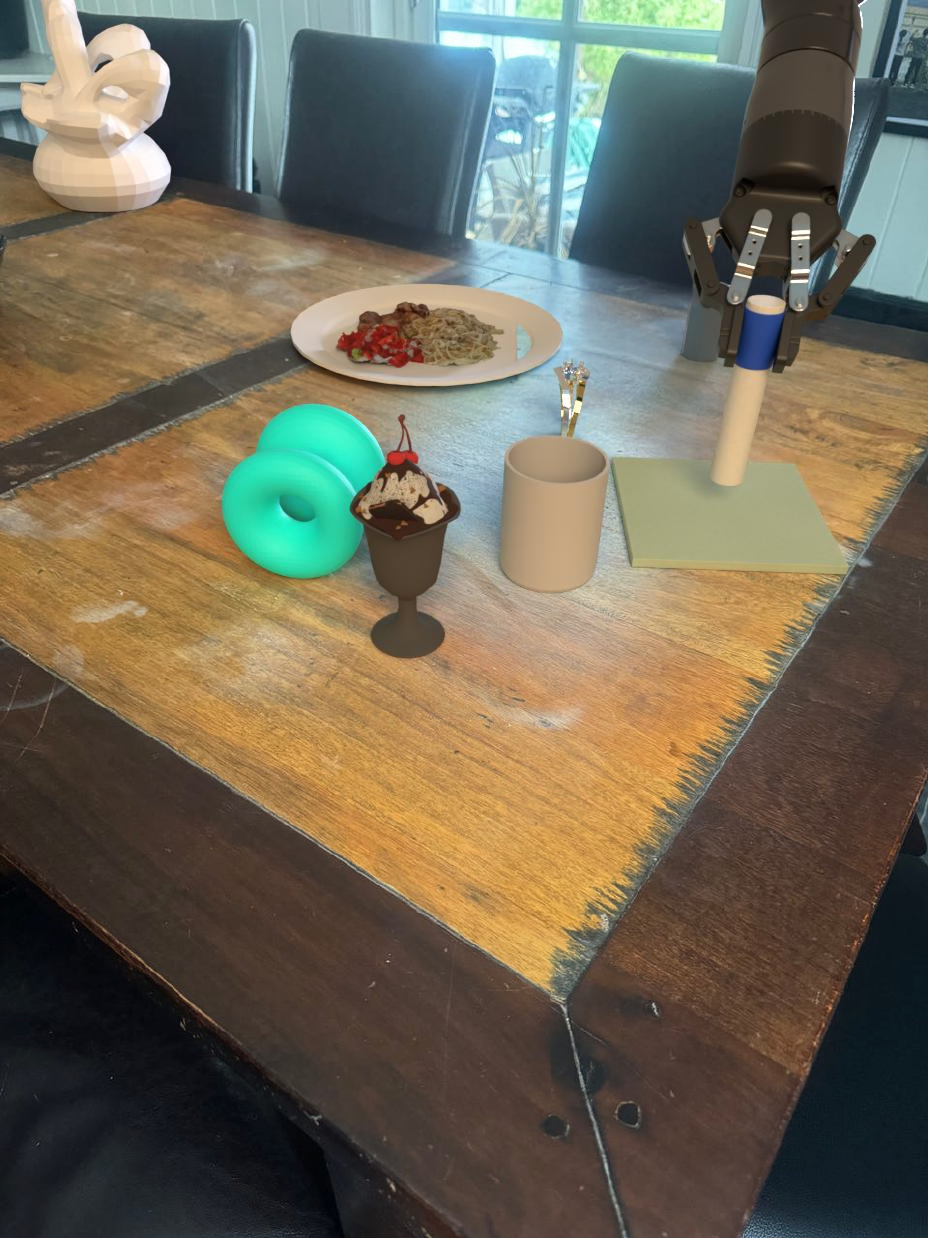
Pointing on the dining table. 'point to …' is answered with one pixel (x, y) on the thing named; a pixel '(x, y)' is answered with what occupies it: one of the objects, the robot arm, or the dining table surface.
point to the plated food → (425, 334)
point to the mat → (722, 518)
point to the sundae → (405, 546)
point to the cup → (552, 512)
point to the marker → (747, 387)
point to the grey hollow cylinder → (701, 331)
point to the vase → (98, 116)
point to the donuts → (302, 491)
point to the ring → (570, 393)
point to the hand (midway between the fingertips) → (754, 364)
